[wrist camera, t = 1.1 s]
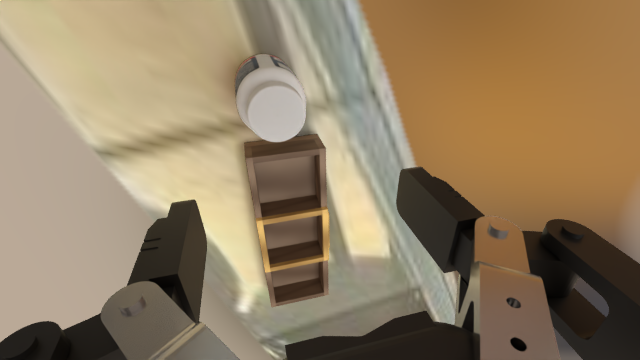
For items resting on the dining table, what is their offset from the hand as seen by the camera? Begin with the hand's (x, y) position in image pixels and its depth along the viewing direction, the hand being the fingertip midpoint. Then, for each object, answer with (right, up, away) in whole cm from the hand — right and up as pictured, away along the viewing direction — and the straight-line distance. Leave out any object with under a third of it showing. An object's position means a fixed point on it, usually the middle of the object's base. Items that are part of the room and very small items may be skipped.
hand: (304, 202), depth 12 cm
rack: (-3, -4, +24) cm, 25 cm away
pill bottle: (-4, +10, +16) cm, 19 cm away
